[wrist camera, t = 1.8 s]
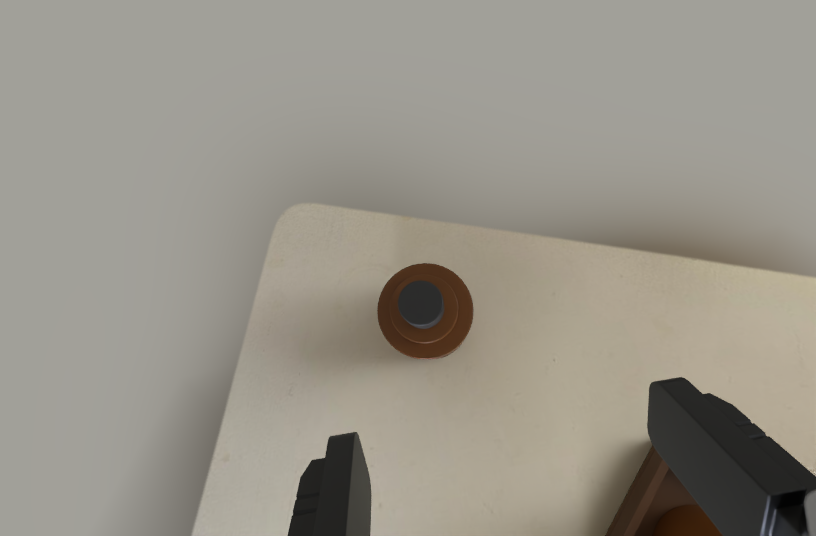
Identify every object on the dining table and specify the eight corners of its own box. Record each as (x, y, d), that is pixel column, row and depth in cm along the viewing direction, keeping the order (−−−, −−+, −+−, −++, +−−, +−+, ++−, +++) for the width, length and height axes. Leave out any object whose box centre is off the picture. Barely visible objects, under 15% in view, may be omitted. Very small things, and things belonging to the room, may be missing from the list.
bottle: (437, 271, 35) (429, 227, 23) (483, 328, 33) (499, 312, 22) (381, 315, 34) (344, 293, 23) (425, 374, 33) (410, 382, 21)
